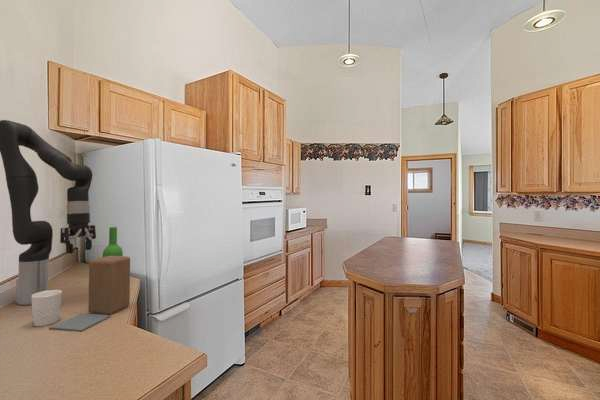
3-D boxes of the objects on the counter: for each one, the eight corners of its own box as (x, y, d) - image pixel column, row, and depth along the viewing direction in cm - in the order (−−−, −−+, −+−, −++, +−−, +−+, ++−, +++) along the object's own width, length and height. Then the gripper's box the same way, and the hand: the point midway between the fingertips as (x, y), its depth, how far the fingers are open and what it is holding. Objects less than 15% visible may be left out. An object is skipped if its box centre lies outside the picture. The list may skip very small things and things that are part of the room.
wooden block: (109, 315, 106) (110, 261, 106) (86, 313, 108) (87, 259, 108) (130, 306, 116) (131, 256, 116) (109, 303, 118) (110, 255, 118)
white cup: (66, 319, 102) (67, 291, 102) (40, 328, 94) (41, 298, 95) (51, 316, 104) (52, 288, 105) (25, 325, 97) (25, 295, 97)
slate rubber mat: (48, 329, 94) (48, 327, 94) (80, 314, 106) (81, 313, 106) (82, 331, 93) (82, 329, 93) (110, 316, 105) (110, 315, 105)
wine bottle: (97, 294, 129) (98, 227, 129) (114, 289, 136) (115, 226, 137) (109, 296, 126) (110, 228, 126) (126, 291, 133) (127, 227, 134)
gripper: (85, 212, 126) (86, 249, 126) (53, 213, 112) (54, 254, 112) (100, 211, 126) (101, 248, 125) (70, 212, 111) (72, 254, 111)
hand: (79, 251), depth 119 cm, fingers open, 8 cm apart
